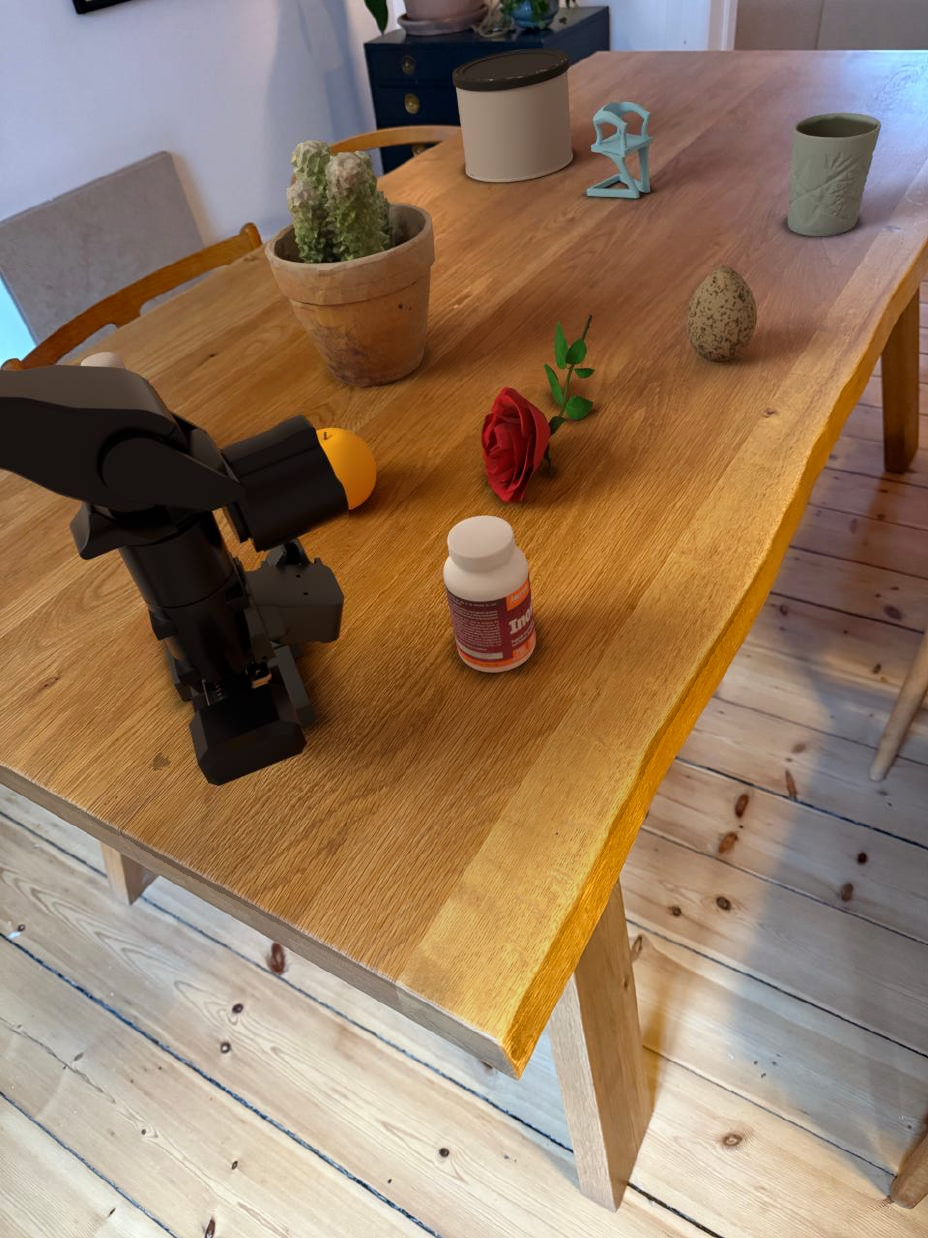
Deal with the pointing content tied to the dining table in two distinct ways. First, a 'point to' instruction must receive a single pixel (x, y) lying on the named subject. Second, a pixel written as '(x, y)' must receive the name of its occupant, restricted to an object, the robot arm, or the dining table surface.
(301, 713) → the dark grey tabbed block
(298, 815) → the dining table surface
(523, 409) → the flower
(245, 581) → the robot arm
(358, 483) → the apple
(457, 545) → the pill bottle
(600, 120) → the chair
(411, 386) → the dining table surface
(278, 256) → the potted plant
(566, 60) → the container
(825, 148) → the green embossed vase
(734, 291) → the decorative egg
